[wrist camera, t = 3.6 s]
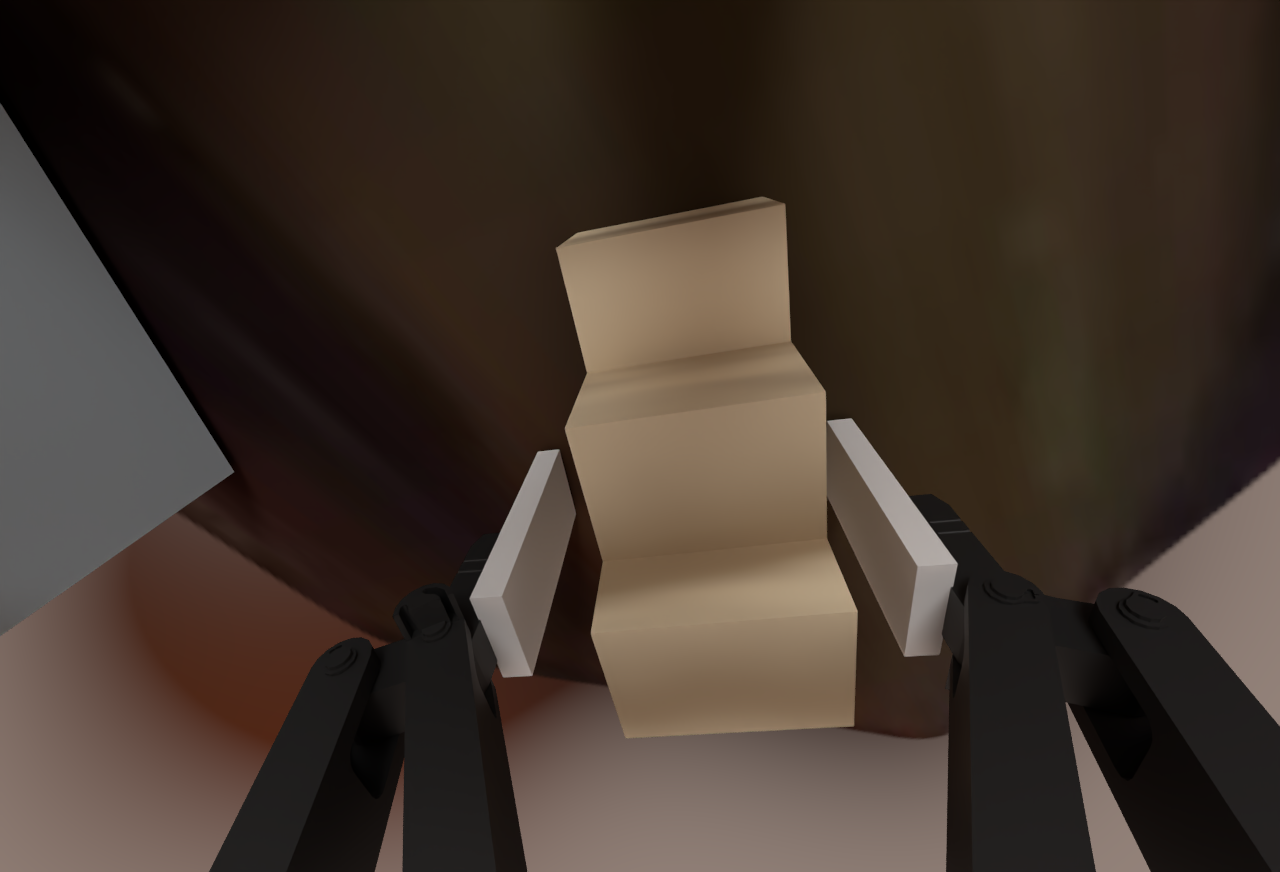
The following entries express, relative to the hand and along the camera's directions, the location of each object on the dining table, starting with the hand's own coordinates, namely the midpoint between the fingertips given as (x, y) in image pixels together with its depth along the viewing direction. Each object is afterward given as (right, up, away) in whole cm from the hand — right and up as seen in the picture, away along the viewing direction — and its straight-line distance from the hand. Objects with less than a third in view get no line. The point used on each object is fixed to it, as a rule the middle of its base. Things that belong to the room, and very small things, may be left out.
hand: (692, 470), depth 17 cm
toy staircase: (0, +3, -1) cm, 3 cm away
